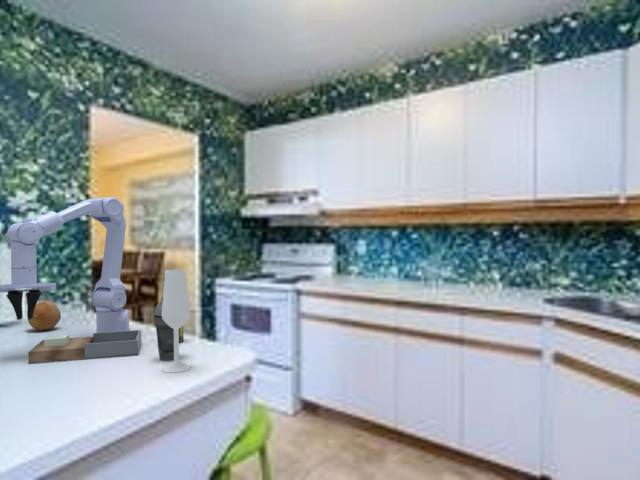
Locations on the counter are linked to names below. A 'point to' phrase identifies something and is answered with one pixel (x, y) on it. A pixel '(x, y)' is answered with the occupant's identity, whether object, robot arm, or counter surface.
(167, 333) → the beverage cup
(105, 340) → the box
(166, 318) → the champagne flute
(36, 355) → the plate
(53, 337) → the tile
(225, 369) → the counter surface
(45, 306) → the onion
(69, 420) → the counter surface
